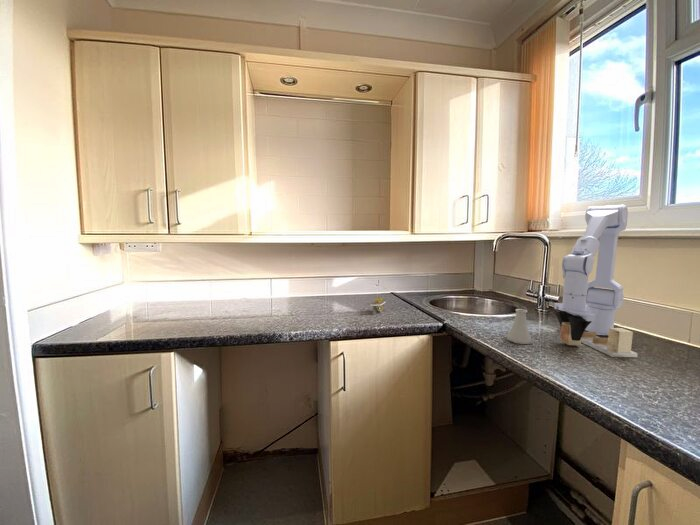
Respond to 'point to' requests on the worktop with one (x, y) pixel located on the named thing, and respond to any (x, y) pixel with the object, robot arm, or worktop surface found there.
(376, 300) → the green irregular piece
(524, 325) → the flask
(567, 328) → the block
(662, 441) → the worktop surface
